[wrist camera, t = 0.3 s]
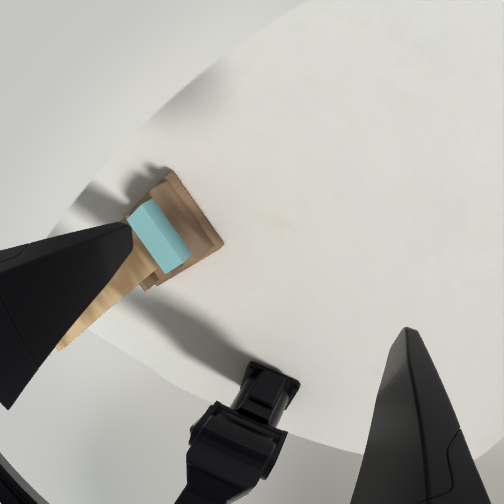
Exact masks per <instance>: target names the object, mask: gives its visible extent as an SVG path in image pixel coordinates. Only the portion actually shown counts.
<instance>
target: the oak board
mask: <svg viewBox="0 0 504 504" xmlns="http://www.w3.org/2000/svg"><path fill="white" fill-rule="evenodd" d="M132 233H133V243H134V246H133V250H132V252H131V253H130V255H129V256H128V257H127V259H126V260H125V261H124V263H123V264H122V265H121V267H120V268H119V269H118V271H117V272H116V274H115V275H114V276H113V278H112V279H111V280H110V282H109V283H108V284H107V285H106V287H105V288H104V289H103V290H102V291H101V292H100V293H99V295H98V296H97V297H96V298H95V299H94V300H93V302H92V303H91V304H90V305H89V306H88V307H87V309H86V310H85V311H84V312H83V313H82V315H81V316H80V317H79V318H78V319H77V321H76V322H75V323H74V324H73V325H72V327H71V328H70V329H69V330H68V332H67V333H66V334H65V335H64V337H63V338H62V339H61V340H60V342H59V343H58V344H57V345H56V347H55V348H56V349H57V350H58V351H60V350H62V349H63V348H65V347H66V346H67V345H69V344H70V343H71V342H72V341H73V340H74V339H75V338H76V337H78V336H79V335H80V334H81V333H82V332H83V331H84V330H85V329H87V328H88V327H89V326H90V325H91V324H92V323H93V322H95V321H96V320H97V319H98V318H99V317H100V316H101V315H103V314H104V313H105V312H106V311H107V310H108V309H110V308H111V307H112V306H113V305H114V304H115V303H117V302H118V301H119V300H120V299H121V298H122V297H124V296H125V295H126V294H127V293H128V292H130V291H131V290H132V289H133V288H134V287H135V286H137V285H138V284H139V283H140V282H141V281H143V280H144V279H145V278H146V277H147V276H149V275H150V274H151V273H152V272H154V271H155V270H156V269H157V268H158V267H159V266H158V264H157V263H156V261H155V260H154V259H153V257H152V256H151V255H150V253H149V252H148V250H147V249H146V248H145V246H144V245H143V243H142V242H141V240H140V239H139V238H138V236H137V235H136V233H135V232H134V230H133V229H132Z"/></svg>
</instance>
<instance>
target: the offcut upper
mask: <svg viewBox="0 0 504 504" xmlns="http://www.w3.org/2000/svg"><path fill="white" fill-rule="evenodd" d="M127 221H128V223H129V224H130V225H131V227H132V228H133V230H134V231H135V233H136V234H137V236H138V237H139V238H140V240H141V241H142V243H143V244H144V245H145V247H146V248H147V250H148V251H149V252H150V254H151V255H152V257H153V258H154V259H155V261H156V262H157V264H158V265H159V266H160V268H161V269H162V270H163V272H164V273H165V274H166V273H168V272H170V271H171V270H173V269H174V268H176V267H177V266H179V265H181V264H182V263H184V262H185V261H186V260H187V259H188V258H189V257H191V256H192V255H193V254H192V253H191V251H190V250H189V249H188V247H187V246H186V244H185V243H184V242H183V240H182V239H181V237H180V236H179V235H178V233H177V232H176V230H175V229H174V228H173V226H172V225H171V223H170V222H169V221H168V219H167V218H166V216H165V215H164V213H163V212H162V211H161V209H160V208H159V206H158V205H157V203H156V202H155V201H154V199H153V198H152V199H150V200H149V201H147V202H145V203H143V204H141V205H140V206H139V207H138V208H137V209H136V210H135V211H134V212H133V213H132V215H131V216H130V217H129V218H128V219H127Z"/></svg>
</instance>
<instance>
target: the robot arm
mask: <svg viewBox="0 0 504 504" xmlns="http://www.w3.org/2000/svg"><path fill="white" fill-rule="evenodd" d="M133 246H134V243H133V233H132V227H131V225H129V224H127V223H124V222H115V223H111V224H106V225H102V226H97V227H93V228H89V229H84V230H80V231H76V232H72V233H68V234H63V235H59V236H55V237H51V238H47V239H43V240H40V241H36V242H32V243H30V244H24V245H20V246H16V247H13V248H9V249H4V250H0V403H2V405H3V406H4V407H5V408H6V409H7V410H9V409H10V408H11V406H12V405H13V404H14V402H15V401H16V399H17V398H18V396H19V395H20V394H21V392H22V391H23V389H24V388H25V387H26V385H27V384H28V382H29V381H30V380H31V378H32V377H33V375H34V374H35V373H36V372H37V370H38V368H39V367H40V366H41V365H42V363H43V362H44V361H45V359H46V358H47V357H48V356H49V354H50V353H51V352H52V350H53V349H54V348H55V347H56V345H57V344H58V343H59V342H60V340H61V339H62V338H63V337H64V335H65V334H66V333H67V332H68V330H69V329H70V328H71V327H72V325H73V324H74V323H75V322H76V321H77V319H78V318H79V317H80V316H81V315H82V313H83V312H84V311H85V310H86V309H87V307H88V306H89V305H90V304H91V303H92V302H93V300H94V299H95V298H96V297H97V296H98V295H99V293H100V292H101V291H102V290H103V289H104V288H105V287H106V285H107V284H108V283H109V282H110V280H111V279H112V278H113V276H114V275H115V274H116V272H117V271H118V269H119V268H120V267H121V265H122V264H123V263H124V261H125V260H126V259H127V257H128V256H129V255H130V253H131V252H132V250H133ZM299 388H300V383H299V382H297V381H294V380H292V379H290V378H287V377H285V376H283V375H280V374H278V373H276V372H274V371H271V370H269V369H267V368H265V367H262V366H260V365H258V364H256V363H254V362H250V363H249V364H248V366H247V369H246V372H245V375H244V378H243V381H242V384H241V387H240V391H239V393H238V395H237V396H236V398H235V400H234V401H233V403H232V405H231V406H230V408H229V407H227V406H225V405H223V404H221V402H218V401H216V402H215V403H214V405H210V407H209V408H208V410H207V411H206V413H205V414H204V415H203V416H202V417H201V418H200V419H199V420H198V421H197V422H196V423H195V424H194V425H192V426H191V428H190V433H191V436H190V440H189V445H190V446H191V447H190V448H189V450H188V452H187V454H186V464H187V485H186V487H185V488H184V490H183V491H182V493H181V494H180V496H179V497H178V499H177V500H176V502H175V503H174V504H231V503H232V502H234V501H236V500H238V499H240V498H241V497H243V496H245V495H247V494H248V493H249V492H250V491H251V490H252V489H253V488H254V487H255V486H256V484H257V483H258V481H259V479H260V478H261V479H263V480H266V479H267V477H268V475H269V474H270V472H271V470H272V468H273V466H274V465H275V463H276V460H277V458H278V456H279V453H280V451H281V449H282V446H283V444H284V441H285V439H286V436H287V433H288V432H287V431H282V430H280V429H277V428H276V426H277V424H278V422H279V420H280V418H281V416H282V414H283V411H284V410H286V409H287V407H288V406H289V404H290V403H291V401H292V399H293V398H294V396H295V395H296V393H297V391H298V390H299ZM0 503H1V504H49V503H48V502H47V501H46V500H45V499H44V498H43V497H41V496H40V495H39V494H38V493H37V492H36V491H35V490H34V489H33V488H32V487H31V486H30V485H29V484H28V483H27V482H26V481H25V480H24V479H23V478H22V477H21V476H20V475H19V474H18V472H17V471H16V470H15V469H14V468H13V467H12V466H11V465H10V464H9V462H8V461H7V460H6V459H5V458H4V457H3V455H2V454H1V453H0ZM350 504H491V502H490V499H489V497H488V495H487V493H486V489H485V487H484V485H483V482H482V480H481V478H480V475H479V473H478V471H477V468H476V466H475V463H474V461H473V459H472V456H471V454H470V451H469V448H468V446H467V443H466V441H465V438H464V435H463V432H462V430H461V429H460V425H459V422H458V420H457V417H456V415H455V412H454V410H453V407H452V405H451V402H450V400H449V397H448V395H447V393H446V390H445V388H444V386H443V383H442V381H441V379H440V377H439V374H438V372H437V370H436V368H435V366H434V363H433V361H432V359H431V357H430V355H429V353H428V351H427V349H426V347H425V344H424V342H423V340H422V338H421V336H420V334H419V332H418V331H417V330H415V329H412V328H409V327H404V328H403V329H402V331H401V332H400V334H399V335H398V337H397V338H396V340H395V341H394V343H393V344H392V346H391V348H390V351H389V355H388V359H387V362H386V366H385V370H384V373H383V377H382V380H381V384H380V387H379V391H378V394H377V398H376V403H375V408H374V413H373V418H372V423H371V427H370V432H369V436H368V441H367V445H366V449H365V453H364V457H363V461H362V465H361V468H360V472H359V476H358V479H357V483H356V486H355V489H354V493H353V496H352V499H351V502H350Z"/></svg>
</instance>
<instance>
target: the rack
mask: <svg viewBox="0 0 504 504" xmlns="http://www.w3.org/2000/svg"><path fill="white" fill-rule="evenodd" d="M152 198H153V199H154V201H155V202H156V203H157V205H158V206H159V208H160V209H161V211H162V212H163V213H164V215H165V216H166V218H167V219H168V221H169V222H170V223H171V225H172V226H173V228H174V229H175V230H176V232H177V233H178V235H179V236H180V237H181V239H182V240H183V242H184V243H185V244H186V246H187V247H188V249H189V250H190V251H191V253H192V254H193V255H192V256H191V257H189V258H188V259H187V260H186V261H185V262H184V263H182V264H181V265H179V266H177V267H176V268H174V269H173V270H171V271H170V272H168V273H166V274H165V273H164V272H163V270H162V269H161V268H160V266H159V265H158V266H159V267H158V268H157V269H156V270H155V271H154V272H152V273H151V274H150V275H149V276H147V277H146V278H145V279H144V280H143V281H141V282H140V283H139V285H140V286H141V288H142V289H143V290H144V292H145V291H146V290H148V289H149V288H150V287H151V286H153V285H154V284H155V285H156V286H158V285H160V284H162V283H163V282H165V281H167V280H168V279H170V278H172V277H173V276H175V275H177V274H178V273H180V272H182V271H183V270H185V269H187V268H189V267H190V266H192V265H194V264H195V263H197V262H199V261H200V260H202V259H204V258H205V257H207V256H209V255H210V254H212V253H214V252H216V251H217V250H219V249H220V248H221V247H222V246H223V245H224V243H223V241H222V240H221V238H220V237H219V236H218V234H217V233H216V231H215V230H214V229H213V227H212V226H211V224H210V223H209V222H208V220H207V219H206V217H205V216H204V215H203V213H202V212H201V210H200V209H199V207H198V206H197V205H196V203H195V202H194V200H193V199H192V198H191V196H190V195H189V193H188V192H187V190H186V189H185V188H184V186H183V185H182V183H181V182H180V180H179V179H178V178H177V176H176V175H175V173H174V172H171V173H169V174H167V175H166V176H165V177H164V178H163V179H162V180H161V181H160V182H159V183H158V184H156V185H155V186H154V187H153V188H152V189H151V190H150V191H149V192H148V193H147V194H146V195H145V197H144V198H143V199H142V200H141V201H140V202H139V203H138V204H137V205H136V206H135V207H134V208H133V209H132V210H131V211H130V212H129V213H128V214H127V215H126V216H125V217H124V218H123V219H122V221H121V222H124V223H127V224H129V223H128V221H127V219H128V218H129V217H130V216H131V215H132V213H133V212H134V211H135V210H136V209H137V208H138V207H139V206H140V205H141V204H143V203H145V202H147V201H149V200H150V199H152ZM129 225H130V224H129ZM132 229H133V228H132ZM134 232H135V231H134ZM136 235H137V234H136ZM138 238H139V237H138ZM139 239H140V238H139ZM141 242H142V241H141ZM143 245H144V244H143ZM144 246H145V245H144ZM145 248H146V247H145ZM146 249H147V248H146ZM148 252H149V251H148ZM149 253H150V252H149ZM150 255H151V254H150ZM151 256H152V255H151ZM153 259H154V258H153ZM154 260H155V259H154ZM156 263H157V262H156Z"/></svg>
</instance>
